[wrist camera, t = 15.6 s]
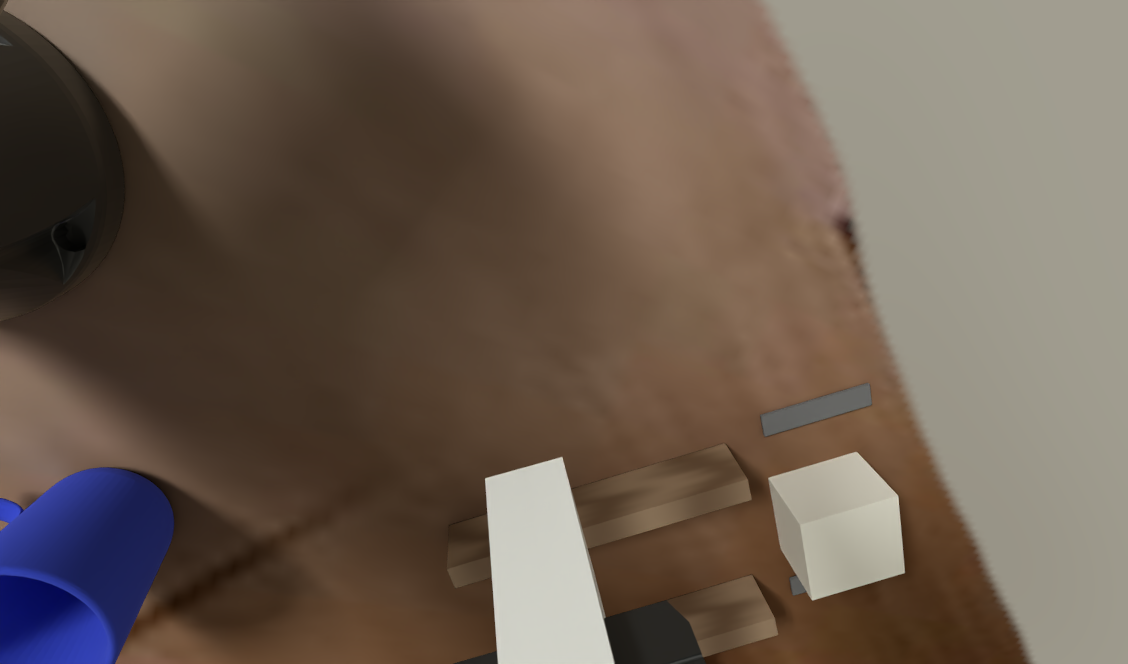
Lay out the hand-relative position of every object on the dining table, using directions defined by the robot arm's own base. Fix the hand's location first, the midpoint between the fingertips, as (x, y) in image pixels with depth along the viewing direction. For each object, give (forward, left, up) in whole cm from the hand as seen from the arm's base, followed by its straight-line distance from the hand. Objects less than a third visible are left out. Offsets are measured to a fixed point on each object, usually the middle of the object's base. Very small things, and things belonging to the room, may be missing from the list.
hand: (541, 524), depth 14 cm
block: (+15, -24, -26) cm, 39 cm away
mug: (-28, -9, -26) cm, 39 cm away
